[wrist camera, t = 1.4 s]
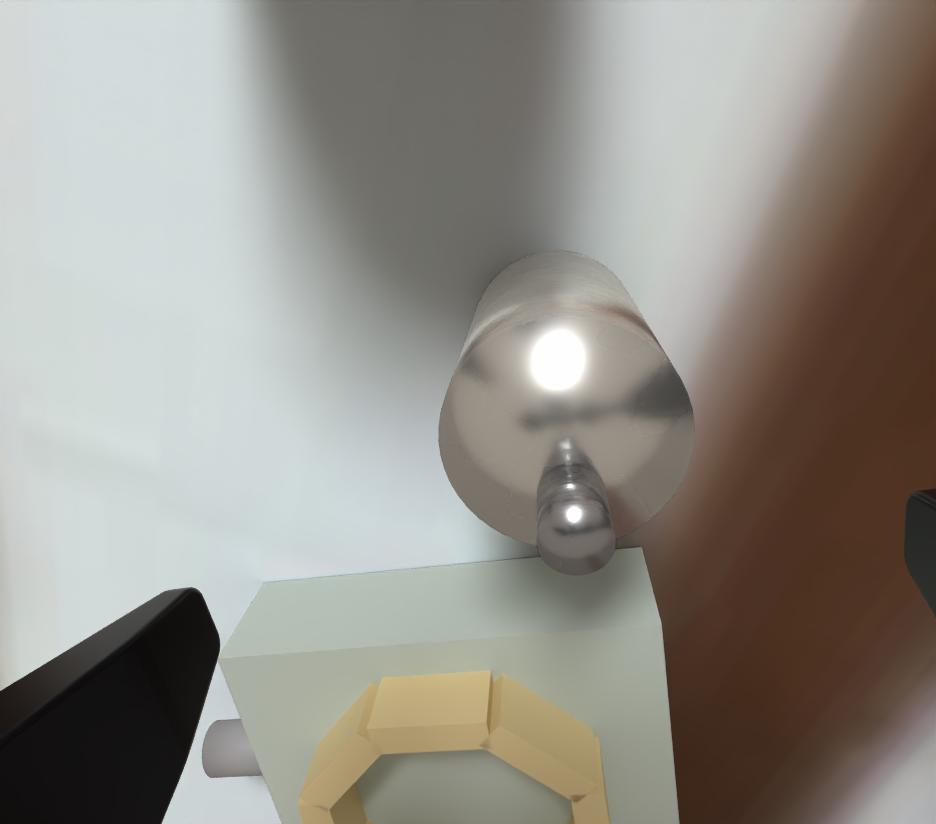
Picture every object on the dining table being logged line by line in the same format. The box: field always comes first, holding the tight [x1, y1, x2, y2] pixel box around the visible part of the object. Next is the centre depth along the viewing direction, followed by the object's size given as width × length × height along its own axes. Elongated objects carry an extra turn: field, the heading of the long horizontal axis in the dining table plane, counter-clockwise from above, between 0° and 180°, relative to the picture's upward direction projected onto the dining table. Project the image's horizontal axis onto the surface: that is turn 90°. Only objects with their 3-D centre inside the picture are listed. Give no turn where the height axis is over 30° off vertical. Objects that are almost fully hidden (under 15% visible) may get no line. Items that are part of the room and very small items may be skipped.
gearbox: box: [202, 547, 679, 824], centre depth 24 cm, size 17×12×6 cm
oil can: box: [439, 251, 695, 576], centre depth 16 cm, size 5×5×10 cm
